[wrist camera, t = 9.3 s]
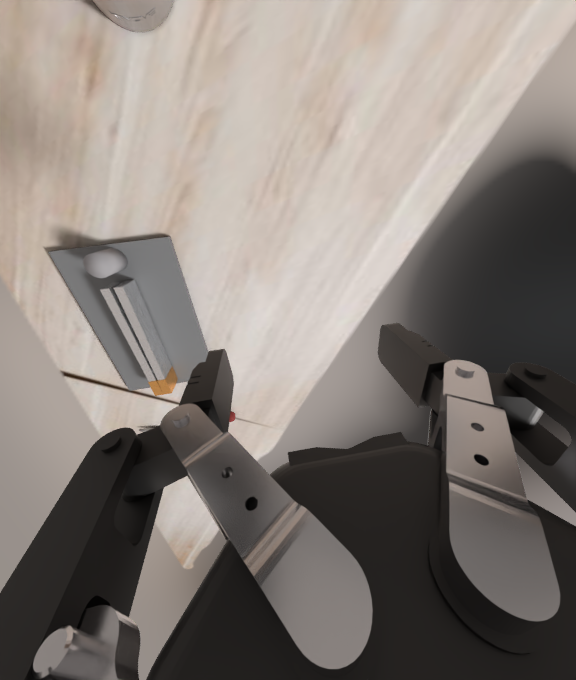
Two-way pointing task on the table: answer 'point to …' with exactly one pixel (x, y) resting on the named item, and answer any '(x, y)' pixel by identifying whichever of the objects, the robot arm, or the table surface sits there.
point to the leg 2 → (146, 334)
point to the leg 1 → (130, 334)
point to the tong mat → (156, 290)
